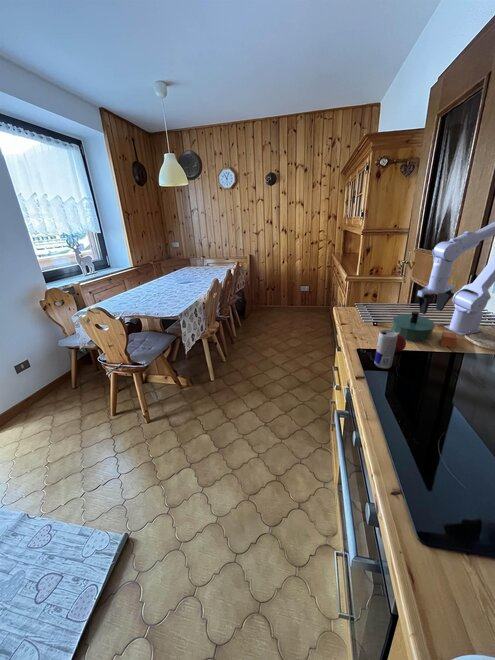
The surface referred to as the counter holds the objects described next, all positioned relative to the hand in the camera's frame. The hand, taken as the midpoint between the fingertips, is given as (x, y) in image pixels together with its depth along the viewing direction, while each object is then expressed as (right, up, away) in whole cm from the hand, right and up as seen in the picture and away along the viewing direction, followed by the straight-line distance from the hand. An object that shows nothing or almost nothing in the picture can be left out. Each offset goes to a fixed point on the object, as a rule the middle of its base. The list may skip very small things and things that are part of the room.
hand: (430, 311), depth 107 cm
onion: (-17, -15, -6) cm, 23 cm away
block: (+4, -12, -3) cm, 13 cm away
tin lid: (-5, -4, +3) cm, 7 cm away
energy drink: (-24, -19, -12) cm, 33 cm away
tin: (-5, -9, +5) cm, 11 cm away
